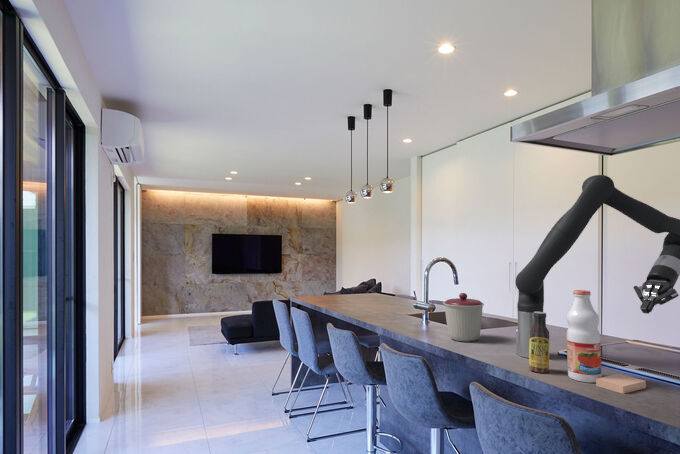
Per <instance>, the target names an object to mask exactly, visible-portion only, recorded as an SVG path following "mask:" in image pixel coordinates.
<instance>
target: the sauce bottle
mask: <svg viewBox="0 0 680 454" xmlns="http://www.w3.org/2000/svg"><path fill="white" fill-rule="evenodd" d="M533 316H534V323H533V324H534V325H533V326H532V328H531V330H530V339H529V358H528V359H529V360H528V365H529V370H530V371H532V372H535V373H538V374H539V373H543V374H546V373H548V372H550V371H549V369H550V331H549V329H548V328H547V324H546V323H547V322H546V321H547V312H544V311H543V312H533Z"/></svg>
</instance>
